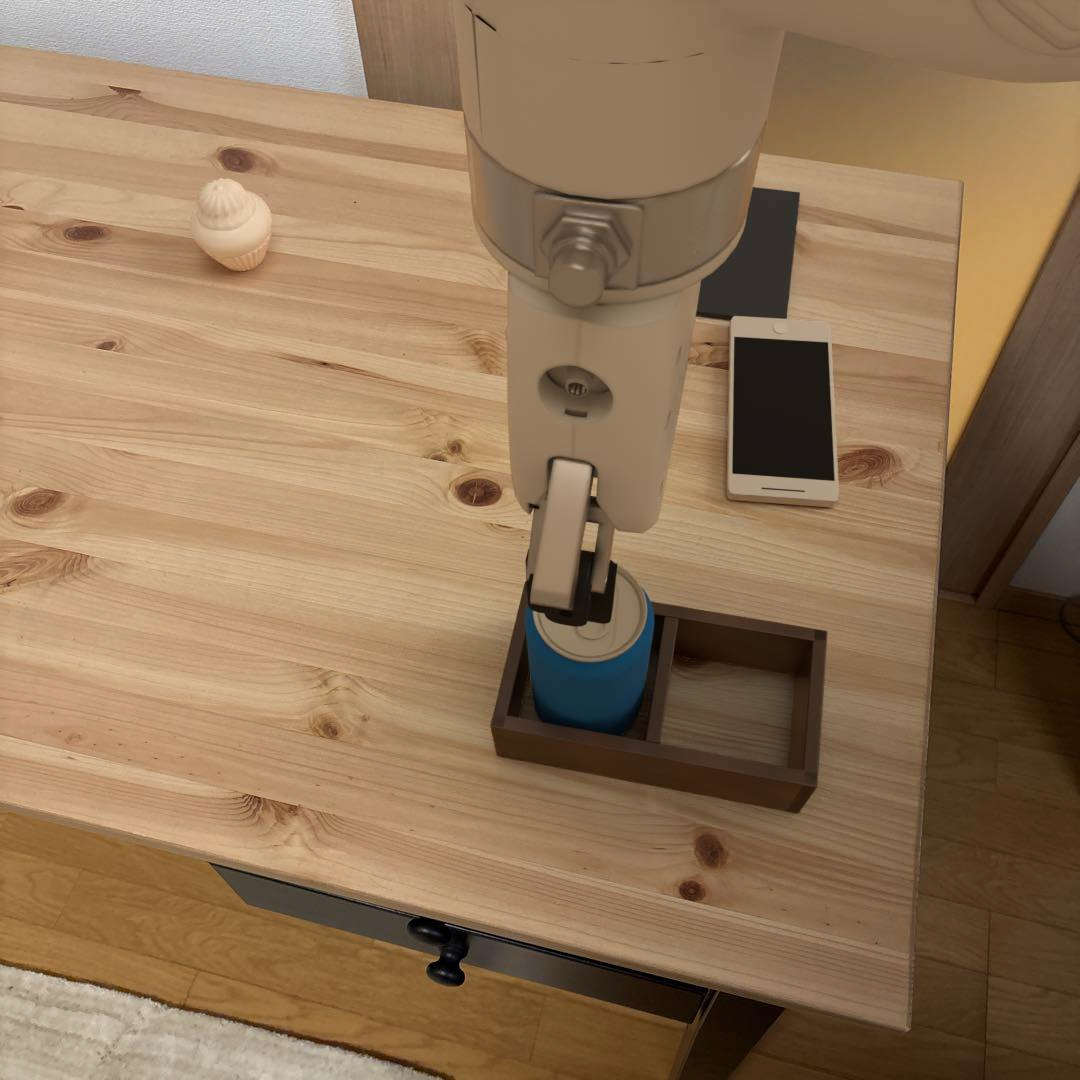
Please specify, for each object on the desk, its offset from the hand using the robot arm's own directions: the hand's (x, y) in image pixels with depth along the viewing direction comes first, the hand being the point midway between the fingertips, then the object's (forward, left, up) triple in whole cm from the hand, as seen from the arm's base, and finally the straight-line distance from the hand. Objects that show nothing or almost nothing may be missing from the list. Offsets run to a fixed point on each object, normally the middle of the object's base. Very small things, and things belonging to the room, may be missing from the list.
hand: (592, 506), depth 41 cm
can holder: (-4, 0, -21) cm, 22 cm away
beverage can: (0, 0, -21) cm, 21 cm away
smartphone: (-9, -23, -21) cm, 33 cm away
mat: (-2, -38, -21) cm, 44 cm away
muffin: (+33, -31, -21) cm, 50 cm away
